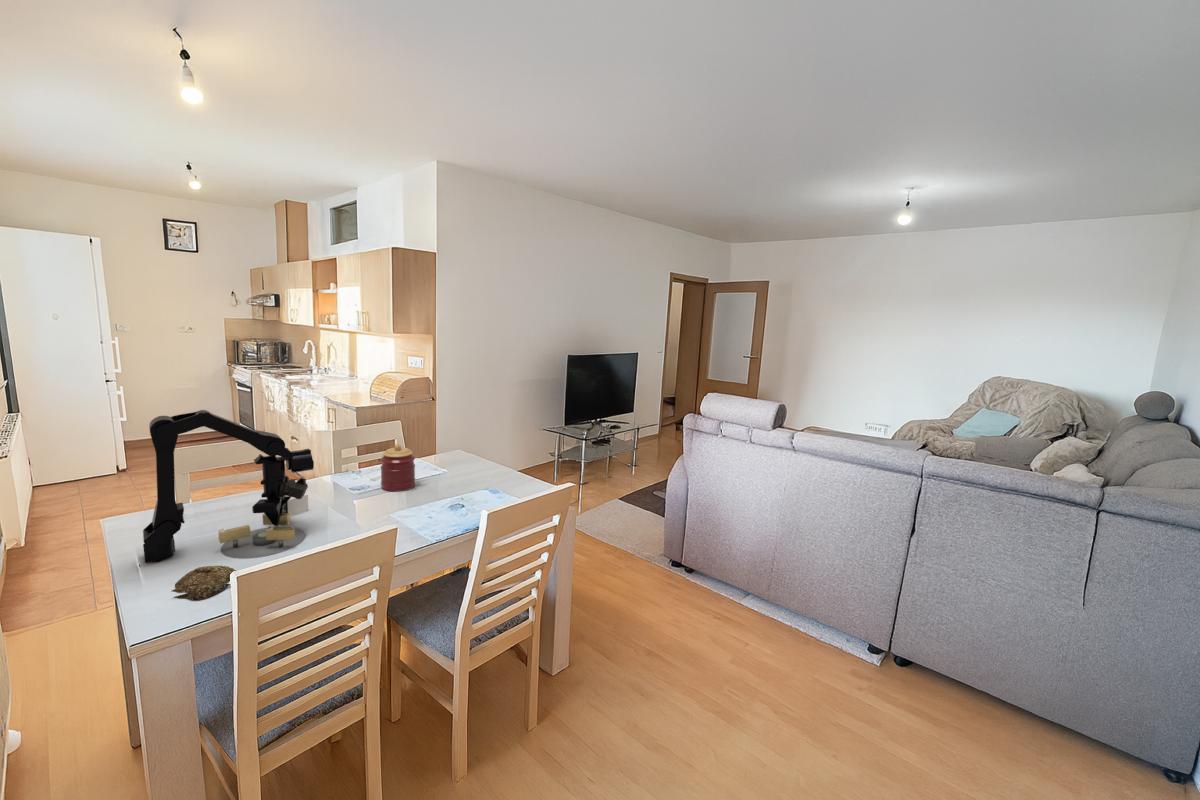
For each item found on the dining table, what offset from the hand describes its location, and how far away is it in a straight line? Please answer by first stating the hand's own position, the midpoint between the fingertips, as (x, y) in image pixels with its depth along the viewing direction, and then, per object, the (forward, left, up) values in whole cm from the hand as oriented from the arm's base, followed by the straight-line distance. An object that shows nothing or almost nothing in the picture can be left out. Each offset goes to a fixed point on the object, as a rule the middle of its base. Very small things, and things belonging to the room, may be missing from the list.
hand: (277, 523), depth 152 cm
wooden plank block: (0, 0, -2) cm, 2 cm away
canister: (+45, -24, -4) cm, 51 cm away
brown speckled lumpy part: (-29, +3, -4) cm, 30 cm away
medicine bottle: (+16, +3, -4) cm, 17 cm away
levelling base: (-7, 0, -4) cm, 8 cm away
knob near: (-10, -6, -2) cm, 12 cm away
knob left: (-10, +6, -2) cm, 12 cm away
